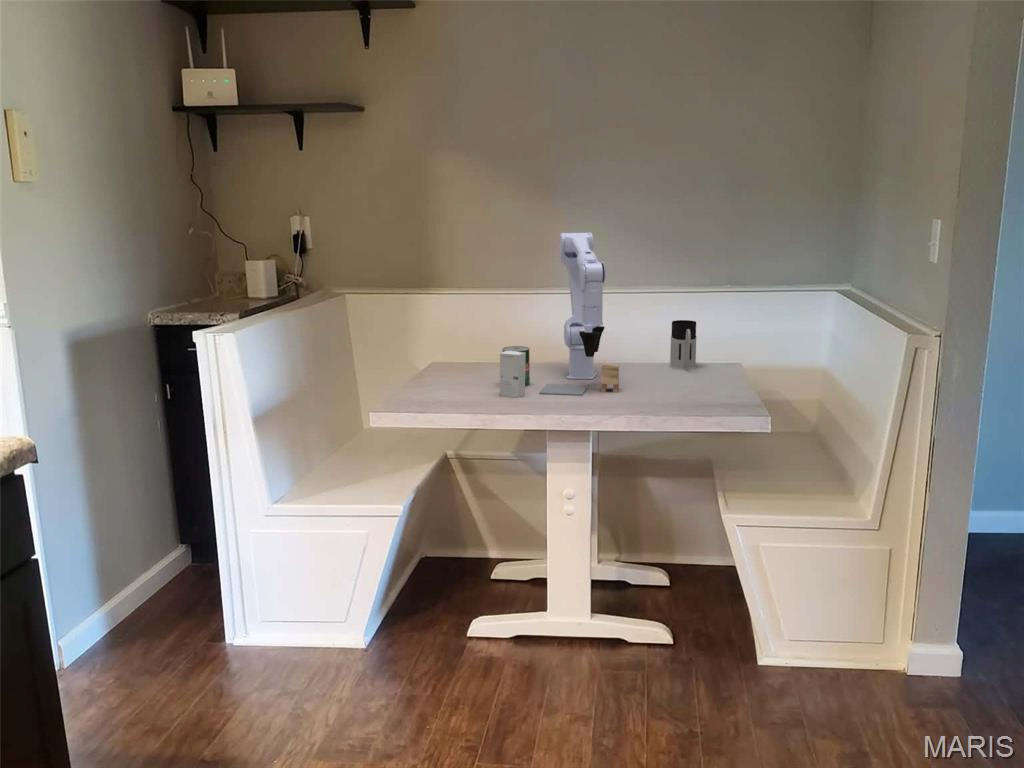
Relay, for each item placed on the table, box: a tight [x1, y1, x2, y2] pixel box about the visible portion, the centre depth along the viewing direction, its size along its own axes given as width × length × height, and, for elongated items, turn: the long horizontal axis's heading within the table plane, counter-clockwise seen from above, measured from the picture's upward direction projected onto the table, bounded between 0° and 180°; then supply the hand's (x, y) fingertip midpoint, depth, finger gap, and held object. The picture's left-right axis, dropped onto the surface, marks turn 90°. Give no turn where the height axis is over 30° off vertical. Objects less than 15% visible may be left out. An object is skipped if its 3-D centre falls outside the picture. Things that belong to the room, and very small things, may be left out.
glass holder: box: [669, 319, 697, 371], centre depth 265 cm, size 9×14×15 cm, turn 179°
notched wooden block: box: [600, 364, 620, 393], centre depth 238 cm, size 4×4×7 cm
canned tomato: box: [501, 345, 531, 388], centre depth 247 cm, size 8×8×11 cm
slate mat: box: [538, 383, 589, 397], centre depth 240 cm, size 12×12×1 cm
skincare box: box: [499, 351, 526, 399], centre depth 234 cm, size 6×4×12 cm
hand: (591, 354), depth 241 cm, fingers open, 7 cm apart
